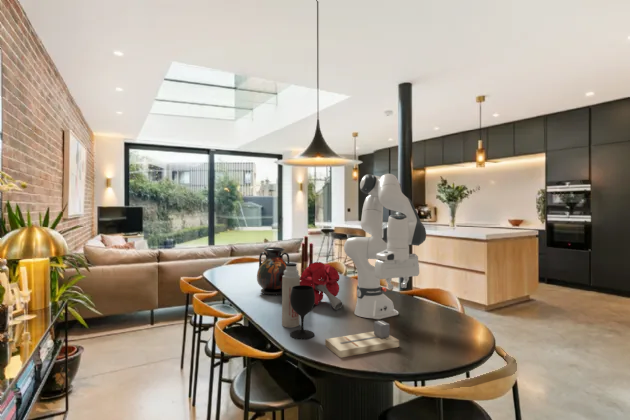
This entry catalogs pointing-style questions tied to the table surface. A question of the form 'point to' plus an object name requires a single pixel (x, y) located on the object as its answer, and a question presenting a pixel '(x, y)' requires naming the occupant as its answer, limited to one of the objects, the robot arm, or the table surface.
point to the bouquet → (322, 282)
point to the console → (360, 344)
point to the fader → (381, 329)
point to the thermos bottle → (288, 283)
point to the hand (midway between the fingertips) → (397, 288)
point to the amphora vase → (272, 271)
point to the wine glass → (302, 308)
